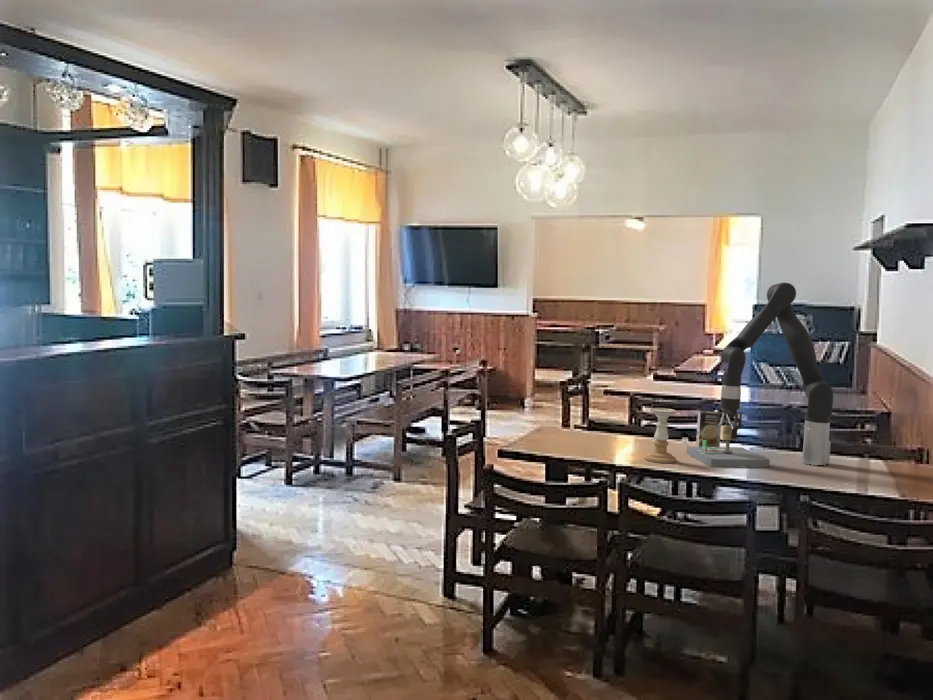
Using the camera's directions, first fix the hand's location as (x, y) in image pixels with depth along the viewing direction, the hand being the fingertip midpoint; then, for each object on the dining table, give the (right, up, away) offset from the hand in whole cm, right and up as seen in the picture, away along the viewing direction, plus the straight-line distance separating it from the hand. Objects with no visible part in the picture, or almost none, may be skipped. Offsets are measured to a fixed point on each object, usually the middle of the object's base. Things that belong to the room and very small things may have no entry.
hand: (728, 436), depth 346 cm
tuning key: (-4, -6, 0) cm, 7 cm away
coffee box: (-2, -8, +24) cm, 25 cm away
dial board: (0, -10, +1) cm, 10 cm away
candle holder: (-28, -9, -3) cm, 30 cm away
